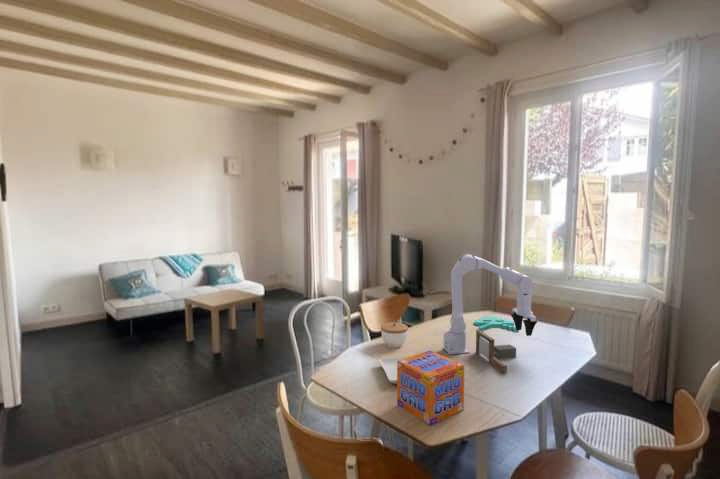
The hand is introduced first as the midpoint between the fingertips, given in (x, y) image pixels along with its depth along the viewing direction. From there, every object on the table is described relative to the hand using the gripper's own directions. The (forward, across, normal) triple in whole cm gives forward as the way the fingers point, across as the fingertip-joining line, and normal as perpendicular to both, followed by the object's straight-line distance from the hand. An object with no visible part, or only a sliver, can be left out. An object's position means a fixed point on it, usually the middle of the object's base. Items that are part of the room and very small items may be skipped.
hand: (523, 332), depth 175 cm
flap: (+9, 0, +19) cm, 21 cm away
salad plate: (+9, -9, +56) cm, 57 cm away
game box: (+9, -35, +57) cm, 67 cm away
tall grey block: (+10, 0, +10) cm, 14 cm away
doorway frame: (+9, -5, +19) cm, 22 cm away
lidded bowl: (+9, +22, +53) cm, 58 cm away
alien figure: (+10, +40, -8) cm, 42 cm away
